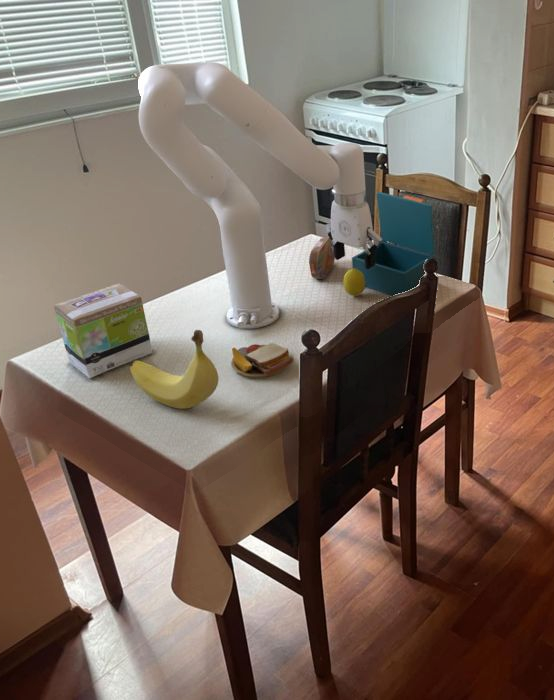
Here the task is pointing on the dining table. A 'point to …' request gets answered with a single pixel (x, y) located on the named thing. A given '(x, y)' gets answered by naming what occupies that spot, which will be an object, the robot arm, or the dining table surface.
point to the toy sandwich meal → (260, 360)
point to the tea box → (103, 329)
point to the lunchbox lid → (406, 222)
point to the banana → (179, 380)
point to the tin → (322, 258)
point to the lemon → (354, 282)
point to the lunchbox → (392, 268)
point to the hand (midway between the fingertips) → (355, 262)
